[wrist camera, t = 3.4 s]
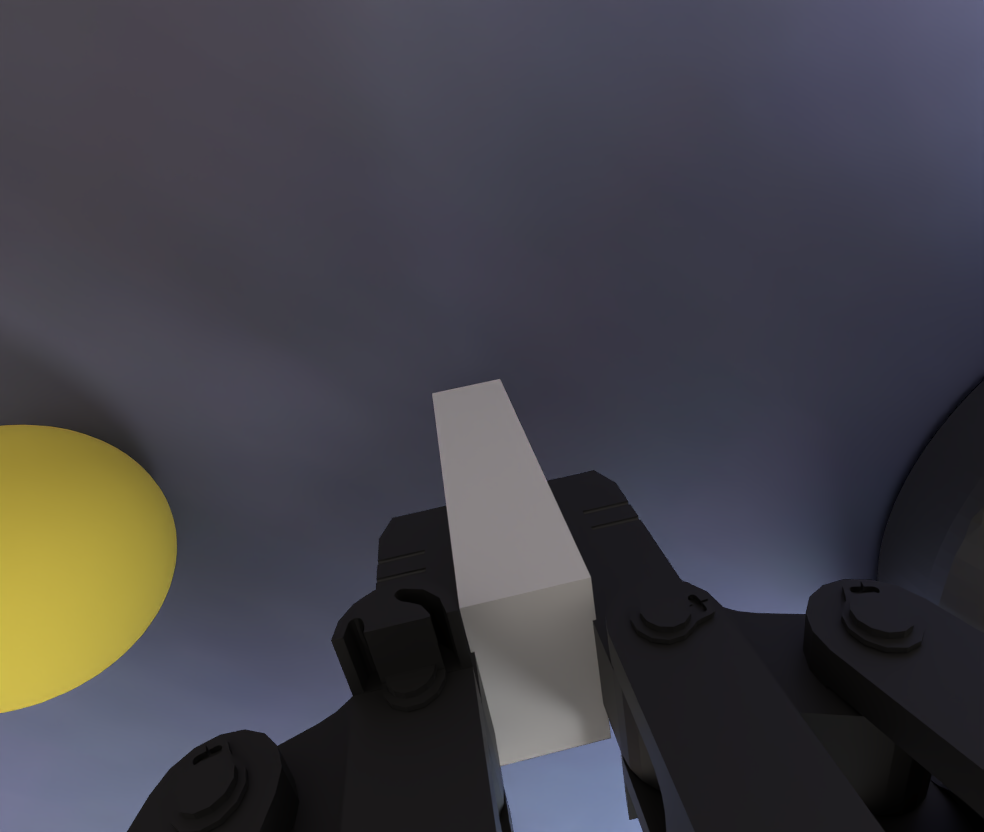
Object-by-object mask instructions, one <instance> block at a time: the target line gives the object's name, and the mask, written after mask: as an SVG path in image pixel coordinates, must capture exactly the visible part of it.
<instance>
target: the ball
mask: <svg viewBox="0 0 984 832" xmlns="http://www.w3.org/2000/svg"><path fill="white" fill-rule="evenodd" d="M176 557H177V537H176V528H175V524H174V519H173V516H172V512H171V509H170V507H169V504H168V502H167V500H166V498H165V496H164V494H163V492H162V491H161V489H160V487H159V486H158V485H157V484H156V482H155V481H154V480H153V478H152V477H151V476H150V475H149V474H148V473H147V472H146V471H145V469H144V468H143V467H142V466H141V465H140V464H138V463H137V462H136V461H135V460H133V459H132V458H131V457H130V456H128V455H127V454H125V453H124V452H122V451H121V450H119V449H118V448H116V447H114V446H112V445H110V444H108V443H106V442H104V441H101V440H99V439H96V438H94V437H91V436H89V435H86V434H83V433H79V432H76V431H72V430H69V429H63V428H57V427H52V426H38V425H3V426H0V713H4V712H9V711H13V710H17V709H21V708H25V707H29V706H32V705H36V704H39V703H42V702H44V701H47V700H49V699H52V698H54V697H57V696H59V695H61V694H64V693H66V692H68V691H71V690H72V689H74V688H76V687H78V686H80V685H81V684H83V683H85V682H87V681H88V680H90V679H92V678H93V677H95V676H97V675H98V674H100V673H101V672H102V671H104V670H105V669H106V668H108V667H109V666H110V665H111V664H113V663H114V662H115V661H116V660H118V659H119V658H120V657H121V656H123V655H124V654H125V653H126V652H127V651H128V650H129V649H130V648H131V647H132V646H133V644H134V643H135V642H136V641H137V640H138V639H139V638H140V637H141V636H142V635H143V633H144V632H145V631H146V629H147V628H148V626H149V625H150V624H151V622H152V621H153V619H154V618H155V616H156V615H157V613H158V612H159V610H160V608H161V606H162V604H163V602H164V600H165V597H166V595H167V593H168V591H169V588H170V585H171V582H172V578H173V574H174V570H175V566H176Z"/></svg>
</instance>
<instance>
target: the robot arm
mask: <svg viewBox="0 0 984 832" xmlns="http://www.w3.org/2000/svg"><path fill="white" fill-rule="evenodd" d="M432 397H433V405H434V413H435V420H436V428H437V436H438V444H439V452H440V460H441V467H442V475H443V483H444V491H445V499H446V506H443V507H439V508H434V509H430V510H425V511H421V512H417V513H412V514H408V515H403V516H399V517H394V518H392V520H391V521H390V523H389V524H388V526H387V527H386V529H385V531H384V532H383V534H382V535H381V537H380V538H379V550H378V564H379V565H378V566H377V583H376V590H374V591H372V592H371V593H369V594H368V595H366V596H365V597H363V598H362V599H360V600H359V601H357V602H356V603H354V604H353V605H352V606H351V608H350V609H349V610H348V611H347V612H346V613H345V614H344V616H343V617H342V618H341V619H340V620H339V622H338V624H337V627H336V629H335V632H334V634H333V637H332V640H331V641H332V644H333V646H334V649H335V651H336V654H337V657H338V659H339V662H340V664H341V667H342V669H343V672H344V674H345V677H346V679H347V682H348V684H349V687H350V690H351V692H352V695H353V696H352V697H351V699H350V700H349V701H348V702H346V703H345V704H344V705H343V706H342V707H341V708H340V709H339V710H338V711H337V712H335V713H334V714H332V715H331V716H329V717H328V718H326V719H325V720H323V721H322V722H320V723H319V724H317V725H315V726H313V727H311V728H310V729H308V730H306V731H304V732H302V733H300V734H298V735H297V736H295V737H293V738H291V739H289V740H287V741H286V742H284V743H282V744H280V745H278V746H277V745H276V744H275V743H274V742H273V741H272V740H271V739H270V738H269V737H268V736H267V735H266V734H265V733H260V732H255V731H250V730H240V731H236V732H231V733H226V734H221V735H219V736H217V737H215V738H213V739H211V740H209V741H207V742H205V743H204V744H202V745H200V746H198V747H196V748H194V749H193V750H192V751H191V752H189V753H188V754H187V755H186V756H185V757H183V758H182V759H181V760H180V761H179V762H177V763H176V764H175V765H174V766H173V767H172V768H170V769H169V771H168V772H167V773H166V775H165V776H164V777H163V778H162V780H161V781H160V782H159V783H158V785H157V786H156V787H155V789H154V790H153V791H152V792H151V794H150V795H149V797H148V798H147V800H146V802H145V803H144V805H143V807H142V808H141V810H140V811H139V813H138V815H137V816H136V818H135V820H134V821H133V823H132V825H131V826H130V828H129V829H128V831H127V832H514V831H513V825H512V819H511V813H510V809H509V805H508V802H507V798H506V794H505V790H504V786H503V779H502V773H501V767H500V766H503V765H507V764H511V763H515V762H519V761H523V760H527V759H531V758H535V757H539V756H543V755H546V754H550V753H554V752H558V751H562V750H566V749H570V748H574V747H578V746H582V745H586V744H590V743H593V742H597V741H601V740H605V739H609V738H611V735H610V727H609V721H610V723H611V726H612V729H613V731H614V734H615V737H616V739H617V742H618V745H619V747H620V750H621V757H622V766H623V775H624V783H625V792H626V801H627V807H628V814H629V820H631V819H635V818H638V819H639V822H640V825H641V828H642V831H643V832H984V381H983V382H981V383H980V384H979V385H978V386H977V387H976V388H975V389H974V390H973V392H972V393H971V394H970V395H969V396H968V397H967V398H966V399H965V400H964V401H963V402H962V403H961V404H960V405H959V406H958V407H957V409H956V410H955V411H954V412H953V413H952V414H951V415H950V417H949V418H948V419H947V420H946V422H945V423H944V424H943V425H942V426H941V428H940V429H939V430H938V431H937V433H936V434H935V436H934V437H933V438H932V440H931V441H930V442H929V444H928V445H927V447H926V448H925V449H924V451H923V453H922V454H921V456H920V457H919V459H918V460H917V462H916V463H915V465H914V467H913V468H912V470H911V472H910V474H909V475H908V477H907V479H906V481H905V483H904V485H903V487H902V489H901V491H900V493H899V495H898V497H897V499H896V502H895V504H894V506H893V509H892V511H891V514H890V517H889V520H888V522H887V525H886V528H885V532H884V536H883V540H882V544H881V549H880V555H879V563H878V581H874V580H863V579H843V580H840V581H836V582H833V583H829V584H826V585H823V586H822V587H820V588H819V589H818V590H817V591H816V592H814V593H813V594H812V595H811V596H810V597H809V601H808V605H807V610H806V614H770V613H750V612H741V611H735V610H731V609H728V608H724V607H722V605H721V604H719V603H718V602H717V601H716V600H715V599H714V598H713V597H712V596H711V595H710V594H709V593H708V592H707V591H705V590H703V589H700V588H698V587H696V586H694V585H692V584H690V583H688V582H684V581H682V580H681V579H680V578H679V576H678V575H677V573H676V572H675V570H674V569H673V567H672V566H671V564H670V563H669V561H668V560H667V558H666V557H665V555H664V554H663V552H662V551H661V549H660V548H659V546H658V545H657V543H656V542H655V541H654V539H653V538H652V536H651V535H650V533H649V532H648V530H647V529H646V527H645V526H644V524H643V523H642V521H641V520H639V519H638V515H637V514H636V512H635V511H634V509H633V508H632V506H631V505H630V504H628V500H627V499H626V497H625V496H624V494H623V493H622V492H621V490H620V489H619V487H618V486H617V484H616V483H615V482H613V481H612V480H610V479H608V478H606V477H605V476H603V475H601V474H599V473H598V472H596V471H594V470H593V471H589V472H584V473H580V474H575V475H571V476H567V477H562V478H558V479H553V480H549V481H547V480H546V478H545V476H544V474H543V472H542V469H541V467H540V465H539V463H538V461H537V458H536V456H535V454H534V452H533V450H532V448H531V445H530V443H529V441H528V439H527V437H526V434H525V432H524V430H523V428H522V426H521V424H520V421H519V419H518V417H517V415H516V413H515V410H514V408H513V406H512V404H511V402H510V399H509V397H508V395H507V393H506V391H505V389H504V386H503V384H502V382H501V380H500V379H497V380H492V381H488V382H483V383H478V384H473V385H469V386H464V387H459V388H455V389H450V390H445V391H441V392H436V393H432ZM608 718H609V719H608Z"/></svg>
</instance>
